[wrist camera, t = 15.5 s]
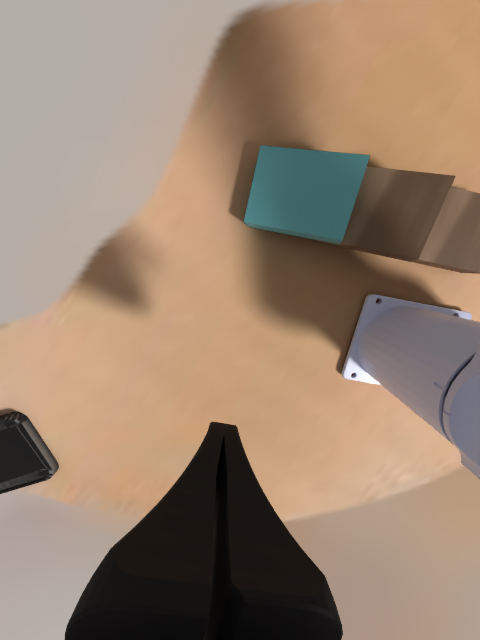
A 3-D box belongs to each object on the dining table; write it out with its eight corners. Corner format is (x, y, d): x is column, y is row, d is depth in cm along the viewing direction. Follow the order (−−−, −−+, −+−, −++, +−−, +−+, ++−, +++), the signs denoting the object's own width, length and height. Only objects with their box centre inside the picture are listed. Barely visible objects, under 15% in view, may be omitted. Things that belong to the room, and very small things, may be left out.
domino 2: (405, 187, 17) (490, 208, 17) (382, 255, 18) (462, 272, 18) (422, 179, 15) (515, 202, 16) (395, 254, 16) (483, 273, 17)
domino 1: (335, 174, 17) (442, 187, 15) (313, 240, 18) (410, 261, 16) (336, 163, 15) (455, 175, 13) (312, 236, 17) (418, 258, 15)
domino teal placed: (265, 157, 17) (364, 168, 15) (249, 227, 18) (339, 244, 16) (260, 145, 15) (370, 155, 13) (243, 221, 16) (342, 240, 15)
